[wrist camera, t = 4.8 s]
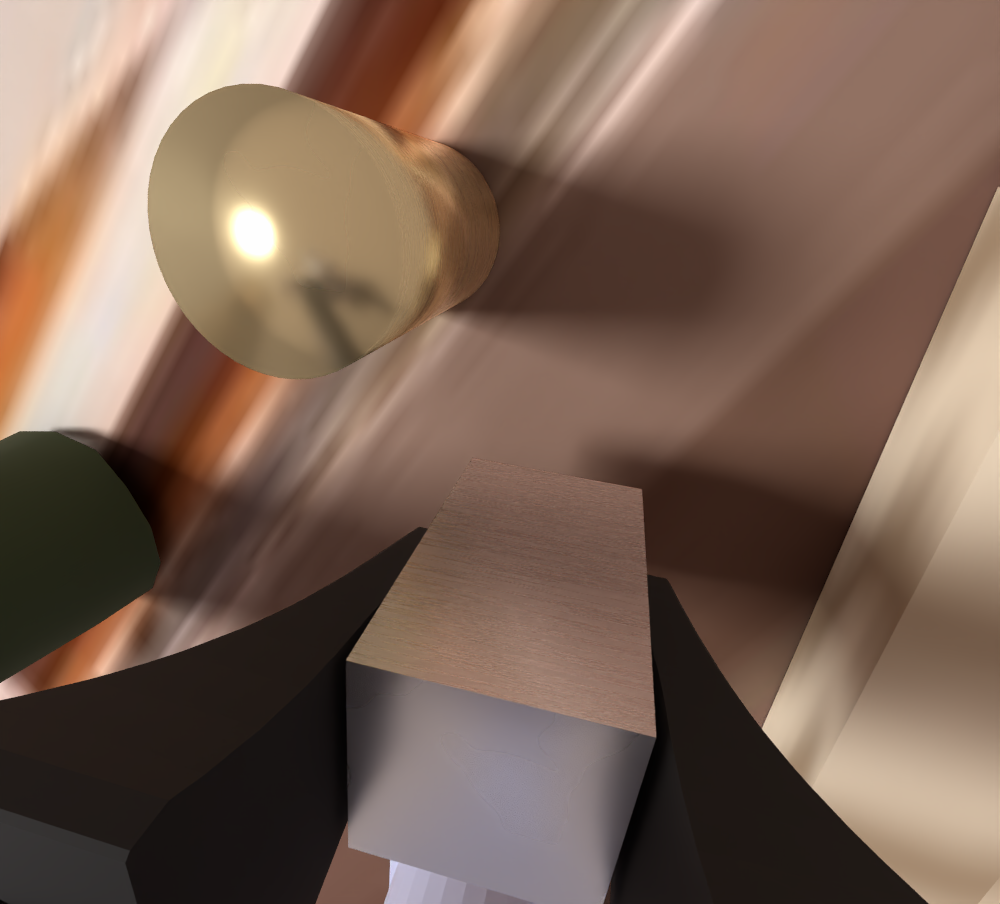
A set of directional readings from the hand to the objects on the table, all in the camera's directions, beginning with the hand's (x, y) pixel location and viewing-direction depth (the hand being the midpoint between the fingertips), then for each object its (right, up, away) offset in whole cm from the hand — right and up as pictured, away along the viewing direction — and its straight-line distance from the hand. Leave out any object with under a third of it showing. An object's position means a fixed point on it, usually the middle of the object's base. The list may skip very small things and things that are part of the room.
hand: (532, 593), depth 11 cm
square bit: (0, +1, +1) cm, 2 cm away
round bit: (-2, +8, +2) cm, 8 cm away
